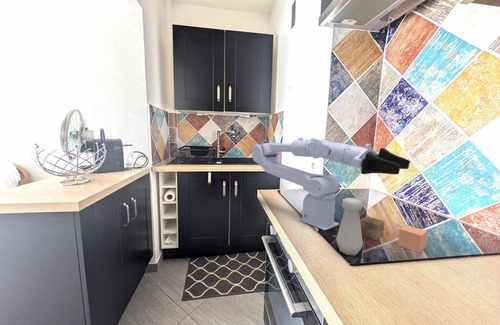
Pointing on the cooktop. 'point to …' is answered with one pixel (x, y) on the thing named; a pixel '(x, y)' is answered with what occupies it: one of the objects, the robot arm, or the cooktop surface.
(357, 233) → the salt shaker
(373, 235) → the walnut block
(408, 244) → the terracotta block
